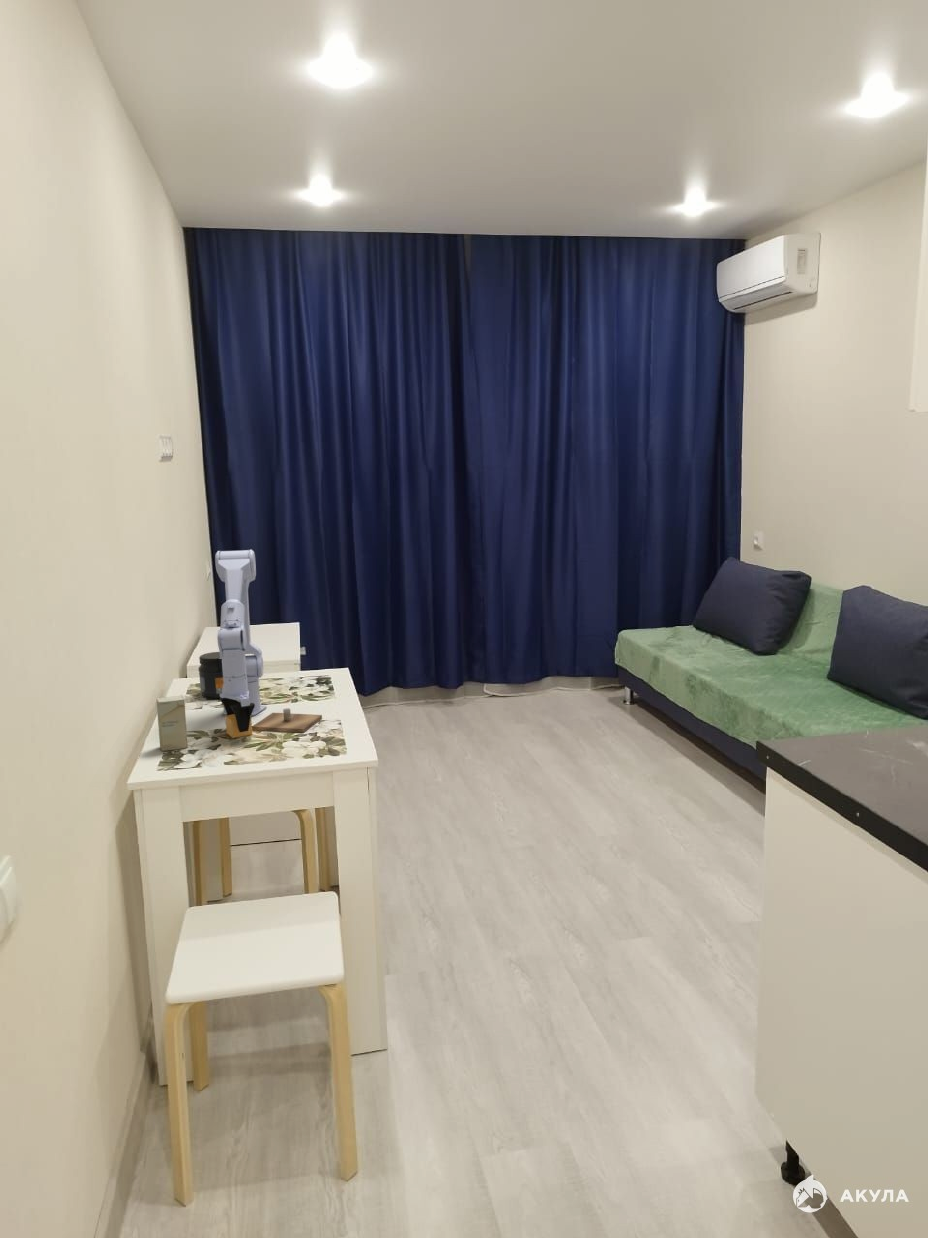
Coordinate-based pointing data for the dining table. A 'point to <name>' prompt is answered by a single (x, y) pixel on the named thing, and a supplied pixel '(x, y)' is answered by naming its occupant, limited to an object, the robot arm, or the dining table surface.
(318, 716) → the brown flat block
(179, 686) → the dining table surface
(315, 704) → the dining table surface
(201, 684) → the supplement container
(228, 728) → the mustard tilted cube
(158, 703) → the skincare box
